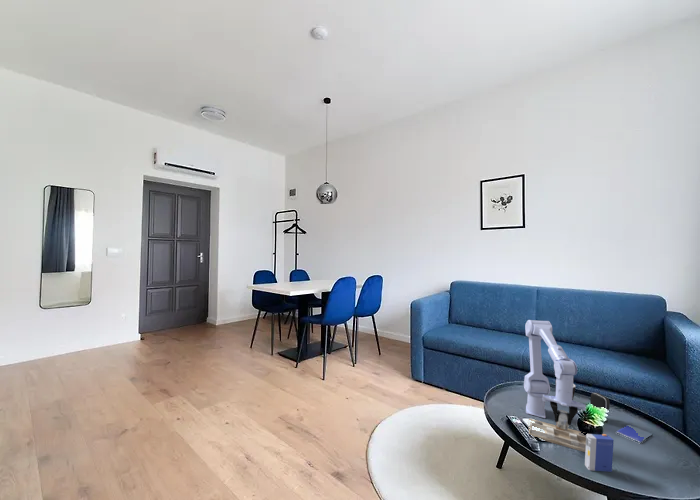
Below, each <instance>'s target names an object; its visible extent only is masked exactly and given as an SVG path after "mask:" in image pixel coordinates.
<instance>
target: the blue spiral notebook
mask: <svg viewBox="0 0 700 500" xmlns="http://www.w3.org/2000/svg"><path fill="white" fill-rule="evenodd" d="M625 426H626V427H625ZM625 426H623V427H624V428H623V427H622V428H620V429H618V430H616V431H615V433H616V432H617V433H620V434H622V435H624V436H626V437H629V438H631V439H633V440H636V441H638V442H642V441H643V439H644V437H640V436H638V433H636V431H635V430H634V429H633V428H631V427H629V426H627V425H625ZM617 433H616V434H617ZM626 437H625V438H626ZM633 440H632V441H633ZM642 443H643V442H642Z"/></svg>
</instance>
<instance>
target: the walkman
mask: <svg viewBox="0 0 700 500" xmlns="http://www.w3.org/2000/svg"><path fill="white" fill-rule="evenodd" d="M614 440H615V439H614V438H612V437H611V436H609V435H608V434H606V433H602V434H597V433H596V434H595V433H587V434H586V451H585V452H584V453H585V454H584V455H585V456H584V466H585V467H586V469H587V470H588V471H594V472H610V473H612V472H613V459H614V458H613V455H614Z"/></svg>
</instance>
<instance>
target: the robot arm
mask: <svg viewBox="0 0 700 500" xmlns="http://www.w3.org/2000/svg"><path fill="white" fill-rule="evenodd" d="M525 322H526V323H525V330H524V331H525V336H526V337H527V338H528V345H529V346H528V347H529V348H528V349H529V364H530V365H529V366H530V371H529V372H528V373H527V374H526V375H524V381H523V387H524V388H523V389H524V391H525V392H526V393H527V398H526V399H527V400H526V401H527V403H526V404H525V414H527V415H531V416H534V417H539V418H544V419H547V418H546V409H545V405H546V404H545V403H546V402H547V403H548V402H549V404H550V405H549V406H550V408H551V410H552V412H553V416H554V422H557V410H559V408H558V405H561V406H563V407H568V413H569V425H568V426H572V423H573V419H574V418H575V416H576V415H577V414H578V412H579V411H578V410H581V411H586V410H587V406H586V403H582V402H579V401H576V400H574V399H573V400H572V396H573V384H574V376H576V375H577V373H578V366H577V364H576V362H575V361H574V360H573V359H571V358H569V356H568V354H567V353H566V351H565V350H564V349H563V346H561V345H559V344H557V341H556V338H555V337H554V335H553V325H552V323H551V322H550V321H549V320H533V319H528V320H527V321H525ZM542 340H543V342H545V344H546V346H547V347H548V349H547V353H548V354H549V356H550V358H551V360H552V361H553V370H554V375H555V376H554V377H556V379H555V381H556V382H555V395H549V394H550V392H551V386H550V382H549V378H548V377H547V376H546V375H544V373H543V361H542V344H541V341H542Z"/></svg>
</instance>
